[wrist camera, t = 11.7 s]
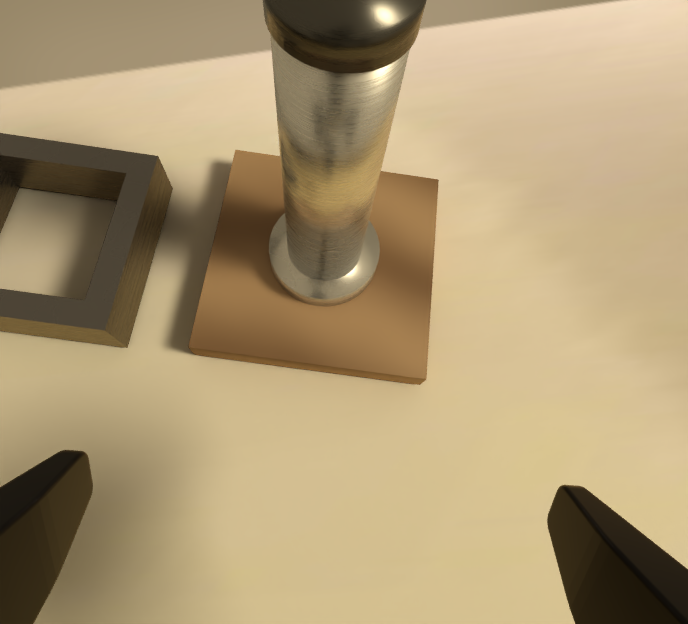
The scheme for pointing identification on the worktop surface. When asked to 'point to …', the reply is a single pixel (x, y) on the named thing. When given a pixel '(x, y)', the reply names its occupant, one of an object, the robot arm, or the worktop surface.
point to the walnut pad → (315, 321)
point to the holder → (119, 245)
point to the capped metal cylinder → (333, 136)
